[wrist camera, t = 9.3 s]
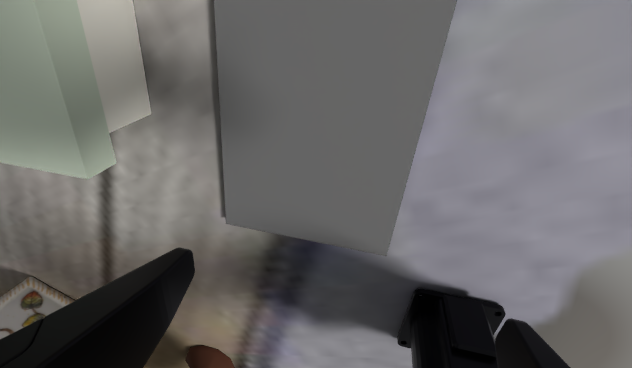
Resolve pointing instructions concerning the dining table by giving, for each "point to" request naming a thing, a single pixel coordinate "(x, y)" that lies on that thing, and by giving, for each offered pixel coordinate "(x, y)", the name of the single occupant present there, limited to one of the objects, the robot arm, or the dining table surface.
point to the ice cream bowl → (207, 358)
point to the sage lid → (50, 91)
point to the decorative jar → (28, 305)
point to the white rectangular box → (116, 59)
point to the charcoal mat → (324, 112)
